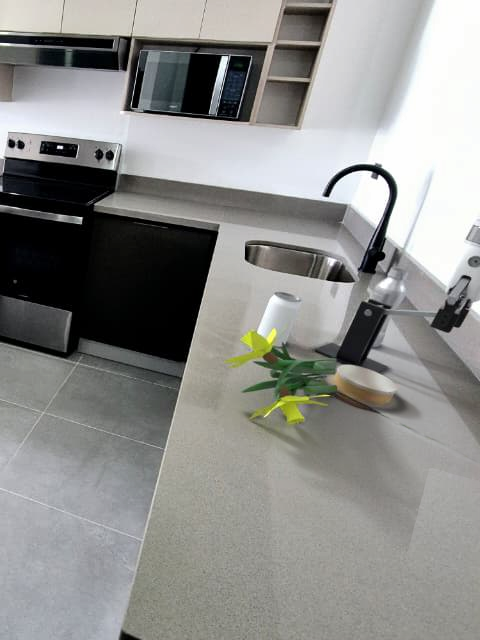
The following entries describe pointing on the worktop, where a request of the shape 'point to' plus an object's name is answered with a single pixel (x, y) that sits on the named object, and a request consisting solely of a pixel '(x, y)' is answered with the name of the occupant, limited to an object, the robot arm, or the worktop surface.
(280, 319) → the can
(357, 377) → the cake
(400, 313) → the lever
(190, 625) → the worktop surface
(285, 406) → the daffodil flowers
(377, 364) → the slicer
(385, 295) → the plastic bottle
